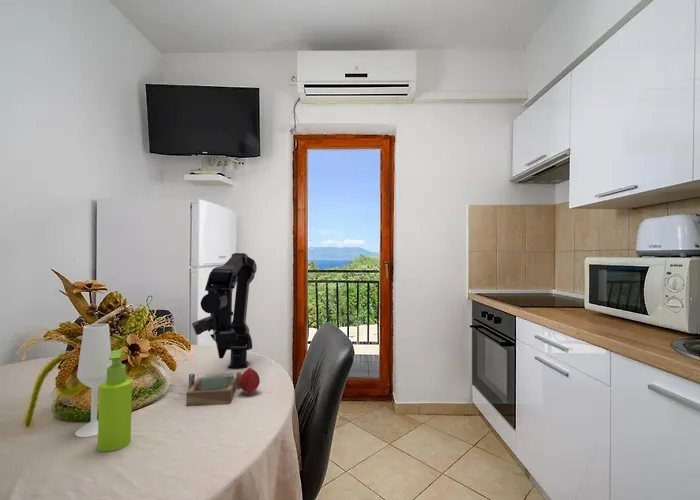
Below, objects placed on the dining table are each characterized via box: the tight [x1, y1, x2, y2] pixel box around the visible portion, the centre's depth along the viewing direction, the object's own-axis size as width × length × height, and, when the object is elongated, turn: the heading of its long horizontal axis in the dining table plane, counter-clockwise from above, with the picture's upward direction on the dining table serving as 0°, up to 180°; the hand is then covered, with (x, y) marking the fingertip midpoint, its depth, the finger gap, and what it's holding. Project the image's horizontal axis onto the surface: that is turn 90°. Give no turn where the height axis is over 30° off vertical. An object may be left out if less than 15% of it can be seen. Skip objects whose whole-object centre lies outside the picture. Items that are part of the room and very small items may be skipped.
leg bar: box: [196, 373, 235, 391], centre depth 107 cm, size 10×2×3 cm, turn 112°
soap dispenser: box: [97, 349, 133, 453], centre depth 74 cm, size 6×7×20 cm
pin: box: [188, 373, 196, 390], centre depth 105 cm, size 2×2×4 cm
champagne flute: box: [74, 323, 112, 438], centre depth 81 cm, size 7×7×24 cm
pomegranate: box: [239, 365, 261, 395], centre depth 103 cm, size 6×6×8 cm
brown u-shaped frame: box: [185, 371, 242, 407], centre depth 101 cm, size 12×13×4 cm
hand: (221, 358), depth 109 cm, fingers closed
